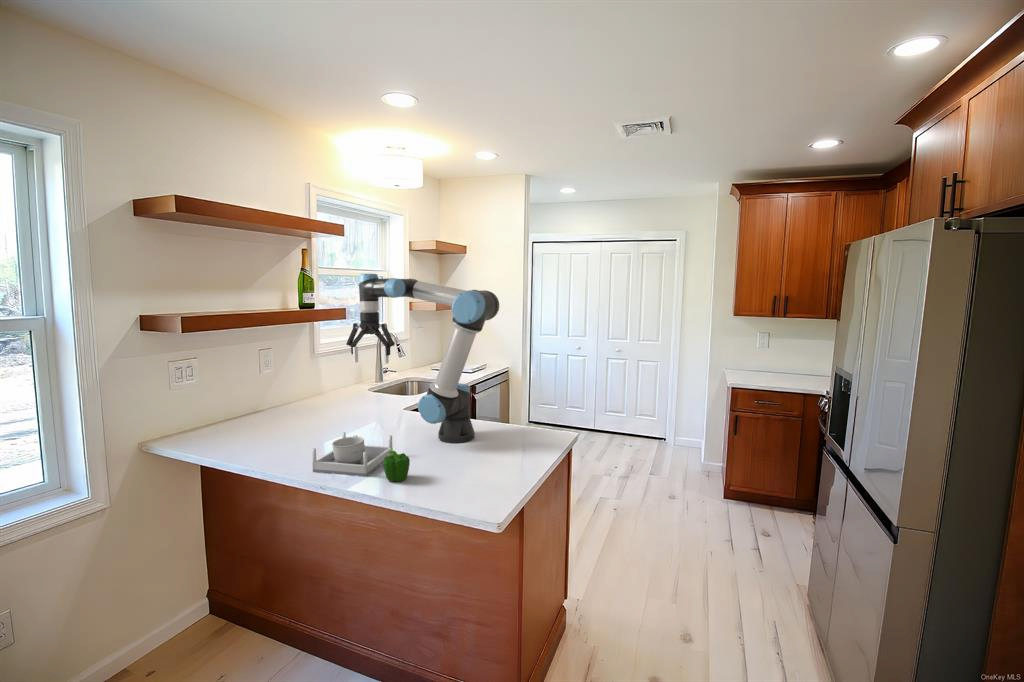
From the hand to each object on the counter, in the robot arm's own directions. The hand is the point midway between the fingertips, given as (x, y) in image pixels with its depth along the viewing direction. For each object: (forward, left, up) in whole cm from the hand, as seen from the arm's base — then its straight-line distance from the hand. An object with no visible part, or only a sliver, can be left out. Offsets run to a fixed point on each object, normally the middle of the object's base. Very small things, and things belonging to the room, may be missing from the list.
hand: (371, 362), depth 206 cm
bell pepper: (-30, +41, -32) cm, 60 cm away
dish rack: (-9, +31, -31) cm, 45 cm away
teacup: (-7, +31, -31) cm, 44 cm away
